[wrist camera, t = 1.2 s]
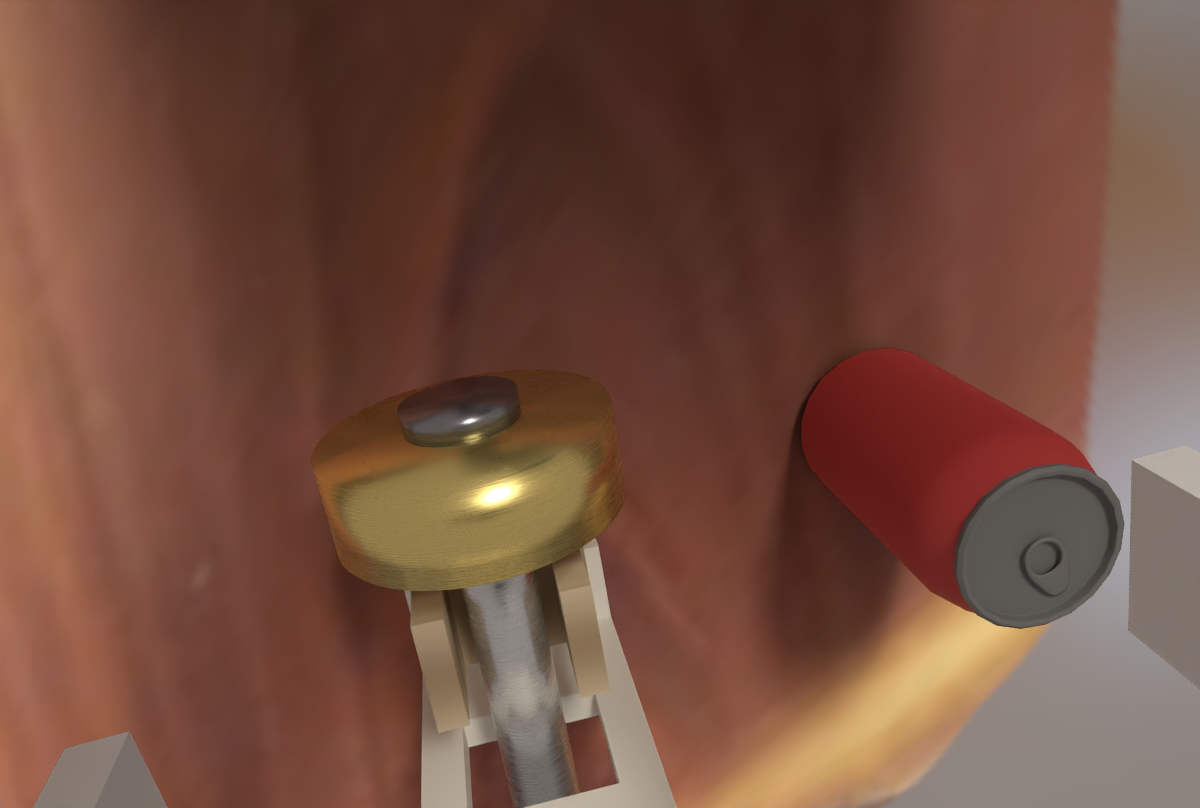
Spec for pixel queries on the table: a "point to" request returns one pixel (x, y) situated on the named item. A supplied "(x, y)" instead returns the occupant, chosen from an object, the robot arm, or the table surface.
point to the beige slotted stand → (642, 786)
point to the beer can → (963, 488)
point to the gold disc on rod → (482, 527)
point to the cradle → (452, 646)
